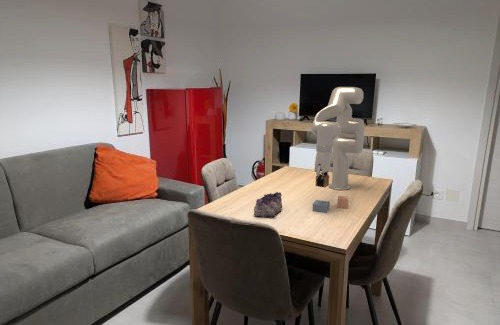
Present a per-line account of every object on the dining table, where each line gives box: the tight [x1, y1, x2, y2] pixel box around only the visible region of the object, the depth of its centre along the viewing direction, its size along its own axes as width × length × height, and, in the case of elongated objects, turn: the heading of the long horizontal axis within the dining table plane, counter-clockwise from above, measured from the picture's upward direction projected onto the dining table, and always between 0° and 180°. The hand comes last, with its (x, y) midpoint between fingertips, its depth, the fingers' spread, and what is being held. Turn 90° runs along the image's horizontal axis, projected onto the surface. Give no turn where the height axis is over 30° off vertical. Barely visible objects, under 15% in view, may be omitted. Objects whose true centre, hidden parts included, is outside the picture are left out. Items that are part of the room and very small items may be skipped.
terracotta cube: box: [336, 195, 349, 210], centre depth 184 cm, size 5×5×5 cm
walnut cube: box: [315, 173, 330, 188], centre depth 176 cm, size 5×5×5 cm
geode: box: [253, 191, 283, 218], centre depth 175 cm, size 20×12×10 cm, turn 155°
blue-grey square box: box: [312, 199, 331, 214], centre depth 179 cm, size 7×7×4 cm
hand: (322, 184), depth 176 cm, fingers closed on walnut cube, 5 cm apart
